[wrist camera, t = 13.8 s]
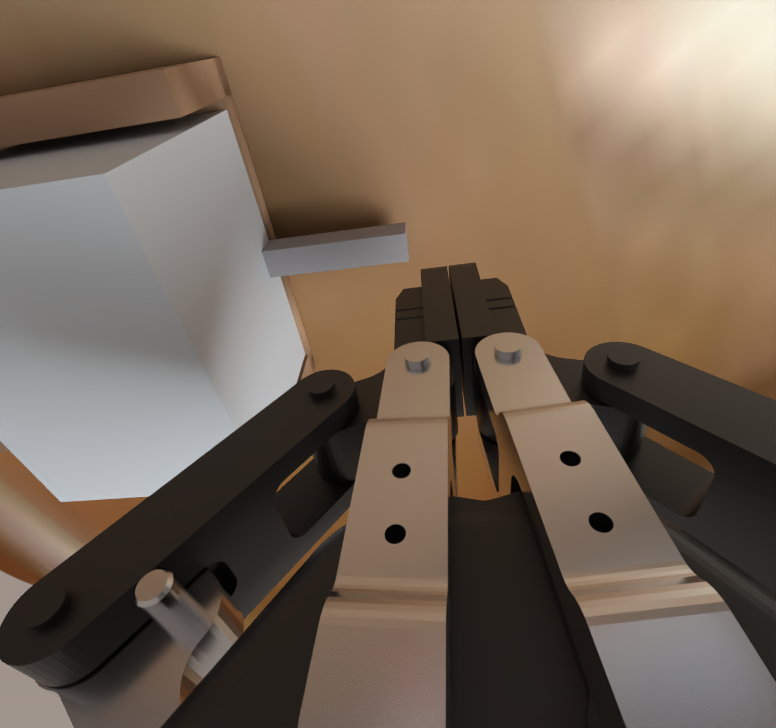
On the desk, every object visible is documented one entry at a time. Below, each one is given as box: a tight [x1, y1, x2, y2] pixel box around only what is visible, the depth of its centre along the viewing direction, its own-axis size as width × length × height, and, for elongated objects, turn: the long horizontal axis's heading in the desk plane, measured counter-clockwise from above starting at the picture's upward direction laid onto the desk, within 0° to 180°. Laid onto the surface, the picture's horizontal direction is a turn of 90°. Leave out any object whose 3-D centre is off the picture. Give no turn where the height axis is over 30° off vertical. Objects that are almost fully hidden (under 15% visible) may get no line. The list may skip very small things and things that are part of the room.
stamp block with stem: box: [0, 110, 409, 502], centre depth 14 cm, size 9×12×7 cm
